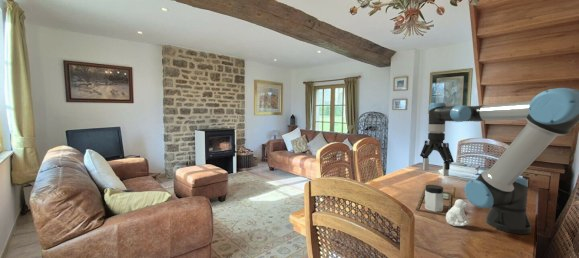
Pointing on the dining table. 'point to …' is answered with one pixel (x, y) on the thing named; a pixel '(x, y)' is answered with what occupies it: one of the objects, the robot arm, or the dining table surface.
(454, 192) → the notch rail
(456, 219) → the white animal figurine
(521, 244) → the dining table surface
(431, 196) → the jar
